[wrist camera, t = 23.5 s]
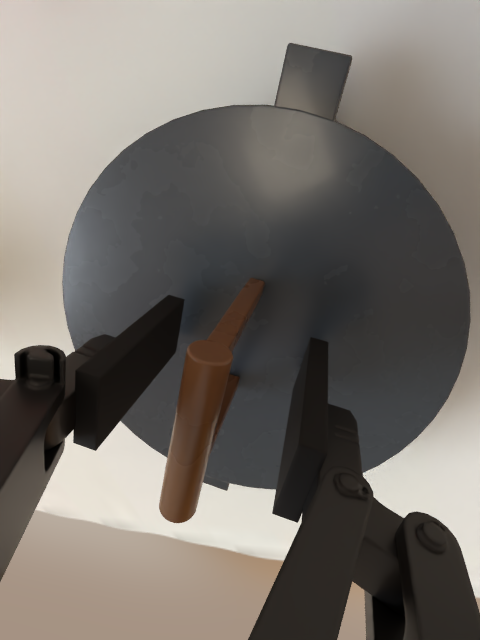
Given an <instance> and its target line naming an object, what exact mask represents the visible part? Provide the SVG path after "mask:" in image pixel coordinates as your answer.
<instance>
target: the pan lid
mask: <svg viewBox="0 0 480 640" xmlns="http://www.w3.org/2000/svg"><path fill="white" fill-rule="evenodd" d="M167 295H172V296H175V297H178V298H182V299H185V301H184V307H183V313H182V319H181V325H180V331H179V337H178V343H177V349H176V353H175V354H174V355H173V357H172V358H171V359H170V360H169V361H168V363H167V364H166V365H165V366H164V368H163V369H162V370H161V371H160V372H159V374H158V375H157V376H156V377H155V379H154V380H153V381H152V382H151V383H150V385H149V386H148V387H147V388H146V390H145V391H144V392H143V393H142V395H141V396H140V397H139V398H138V399H137V401H136V402H135V403H134V404H133V406H132V407H131V408H130V409H129V410H128V412H127V413H126V414H125V415H124V417H123V418H122V419H121V420H120V421H121V422H122V423H123V424H124V425H126V426H127V427H128V428H129V429H130V430H131V431H132V432H133V433H134V434H135V435H136V436H138V437H139V438H140V439H141V440H143V441H144V442H145V443H146V444H148V445H149V446H150V447H152V448H153V449H155V450H156V451H158V452H159V453H161V454H162V455H164V456H166V457H167V463H166V469H165V475H164V480H163V486H162V491H161V497H160V503H159V509H160V512H161V514H162V515H163V517H164V518H165V519H167V520H168V521H170V522H173V523H182V522H185V521H187V520H189V519H190V518H191V517H192V516H193V515H194V513H195V511H196V508H197V504H198V499H199V495H200V491H201V487H202V483H203V479H204V475H205V476H207V477H210V478H214V479H217V480H220V481H224V482H227V483H231V484H237V485H242V486H247V487H254V488H264V489H277V482H278V476H279V470H280V464H281V458H282V452H283V446H284V440H285V434H286V428H287V422H288V416H289V410H290V404H291V397H292V391H293V387H294V384H295V381H296V378H297V376H298V373H299V370H300V367H301V364H302V361H303V358H304V355H305V352H306V349H307V346H308V343H309V340H310V337H313V338H316V339H320V340H323V341H326V342H328V404H331V405H334V406H337V407H341V408H344V409H347V410H350V411H351V413H352V414H353V416H354V418H355V419H356V421H357V426H358V435H359V445H360V454H361V464H362V473H363V472H366V471H368V470H370V469H372V468H374V467H376V466H378V465H380V464H382V463H383V462H385V461H386V460H388V459H389V458H391V457H393V456H394V455H396V454H397V453H399V452H400V451H401V450H402V449H404V448H405V447H406V446H407V445H408V444H410V443H411V442H412V441H413V440H414V439H416V438H417V437H418V436H419V435H420V434H421V432H422V431H423V430H424V429H425V428H426V427H427V426H428V425H429V424H430V423H431V421H432V420H433V419H434V418H435V416H436V415H437V413H438V412H439V410H440V409H441V407H442V406H443V404H444V403H445V402H446V400H447V399H448V397H449V395H450V392H451V390H452V388H453V386H454V384H455V382H456V380H457V378H458V376H459V373H460V369H461V366H462V363H463V359H464V356H465V353H466V349H467V343H468V336H469V328H470V291H469V285H468V280H467V275H466V269H465V264H464V260H463V258H462V255H461V252H460V249H459V246H458V244H457V241H456V238H455V235H454V233H453V231H452V229H451V227H450V225H449V224H448V222H447V220H446V218H445V216H444V214H443V213H442V211H441V209H440V207H439V205H438V204H437V203H436V201H435V200H434V199H433V197H432V196H431V195H430V194H429V192H428V191H427V190H426V188H425V187H424V186H423V184H422V183H421V182H420V181H419V179H418V178H417V177H416V176H415V175H414V174H413V173H412V172H411V171H410V170H408V169H407V168H406V167H405V166H404V165H403V164H402V163H401V162H400V161H399V160H398V159H397V158H396V157H395V156H394V155H392V154H391V153H390V152H388V151H387V150H385V149H384V148H382V147H381V146H379V145H378V144H377V143H375V142H374V141H372V140H371V139H369V138H368V137H366V136H365V135H363V134H361V133H359V132H357V131H355V130H353V129H351V128H349V127H347V126H345V125H342V124H340V123H338V122H336V121H334V120H332V119H328V118H325V117H322V116H319V115H315V114H312V113H309V112H306V111H302V110H298V109H291V108H284V107H278V106H271V105H231V106H225V107H219V108H213V109H207V110H201V111H198V112H195V113H192V114H189V115H186V116H183V117H180V118H177V119H174V120H172V121H170V122H168V123H166V124H164V125H162V126H160V127H158V128H156V129H154V130H152V131H150V132H148V133H146V134H145V135H144V136H142V137H141V138H139V139H138V140H137V141H135V142H134V143H133V144H131V145H130V146H128V147H127V148H126V149H124V150H123V151H122V152H121V153H120V154H119V155H118V156H117V157H116V158H115V159H114V160H113V161H112V162H111V163H110V164H109V165H108V166H107V167H106V168H105V169H104V171H103V172H102V173H101V175H100V176H99V177H98V179H97V180H96V181H95V183H94V184H93V185H92V187H91V188H90V189H89V191H88V193H87V195H86V197H85V199H84V200H83V202H82V204H81V206H80V208H79V210H78V212H77V214H76V217H75V220H74V223H73V225H72V228H71V231H70V234H69V238H68V242H67V247H66V252H65V257H64V268H63V300H64V308H65V314H66V320H67V325H68V329H69V332H70V335H71V339H72V342H73V345H74V348H75V350H76V349H78V348H79V347H80V346H81V347H82V345H83V344H85V343H86V342H87V341H89V340H90V339H91V338H94V337H97V336H100V335H103V334H106V335H110V336H113V337H117V336H118V335H119V334H121V333H122V332H123V331H124V330H126V329H127V328H128V327H129V326H130V325H132V324H133V323H134V322H135V321H137V320H138V319H139V318H140V317H142V316H143V315H144V314H145V313H146V312H148V311H149V310H150V309H151V308H153V307H154V306H155V305H156V304H158V303H159V302H160V301H161V300H162V299H164V298H165V297H166V296H167Z"/></svg>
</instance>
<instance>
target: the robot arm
mask: <svg viewBox="0 0 480 640" xmlns="http://www.w3.org/2000/svg"><path fill="white" fill-rule="evenodd" d="M184 301H185V299H182V298H178V297H175V296H172V295H167V296H166V297H165V298H164V299H162V300H161V301H160V302H159V303H158V304H156V305H155V306H154V307H153V308H151V309H150V310H149V311H148V312H146V313H145V314H144V315H143V316H142V317H140V318H139V319H138V320H137V321H135V322H134V323H133V324H132V325H130V326H129V327H128V328H127V329H126V330H124V331H123V332H122V333H121V334H119V335H118V336H117V337H113V336H110V335H106V334H103V335H100V336H97V337H94V338H91V339H90V340H89V341H87V342H86V343H85V344H83V345H82V347H81V346H80V347H79V348H78V349H76V350H75V352H72V353H71V354H70V355H68V356H67V357H66V356H65V354H64V352H63V351H62V350H60V349H58V348H56V347H52V346H44V345H38V346H31V347H27V348H24V349H21V350H20V351H18V352H17V353H15V354H14V356H15V374H16V379H15V380H4V379H0V581H1V579H2V577H3V575H4V573H5V571H6V569H7V567H8V565H9V562H10V560H11V558H12V556H13V554H14V552H15V550H16V548H17V546H18V544H19V542H20V540H21V538H22V535H23V534H24V531H25V529H26V527H27V525H28V523H29V521H30V519H31V517H32V515H33V513H34V511H35V509H36V507H37V505H38V502H39V500H40V498H41V496H42V494H43V492H44V490H45V488H46V486H47V484H48V482H49V480H50V478H51V476H52V474H53V471H54V469H55V467H56V465H57V463H58V461H59V459H60V457H61V455H62V453H63V450H64V446H65V438H66V437H67V436H68V435H69V434H70V433H71V431H72V430H73V429H74V442H73V443H76V444H78V445H81V446H84V447H87V448H90V449H92V450H95V451H96V450H97V449H98V447H99V446H100V445H101V444H102V442H103V441H104V440H105V439H106V437H107V436H108V435H109V434H110V433H111V431H112V430H113V429H114V428H115V426H116V425H117V424H118V423H119V422H120V420H121V419H122V418H123V417H124V415H125V414H126V413H127V412H128V410H129V409H130V408H131V407H132V406H133V404H134V403H135V402H136V401H137V399H138V398H139V397H140V396H141V395H142V393H143V392H144V391H145V390H146V388H147V387H148V386H149V385H150V383H151V382H152V381H153V380H154V379H155V377H156V376H157V375H158V374H159V372H160V371H161V370H162V369H163V368H164V366H165V365H166V364H167V363H168V361H169V360H170V359H171V358H172V357H173V355H174V354H175V353H176V349H177V343H178V337H179V331H180V325H181V319H182V313H183V307H184ZM272 514H275V515H278V516H280V517H283V518H286V519H289V520H292V521H295V522H297V523H298V521H299V519H300V516H301V514H302V523H301V525H300V528H299V530H298V532H297V534H296V536H295V538H294V541H293V543H292V545H291V547H290V549H289V552H288V554H287V556H286V558H285V560H284V562H283V565H282V567H281V569H280V571H279V573H278V576H277V578H276V580H275V582H274V584H273V586H272V589H271V591H270V593H269V595H268V597H267V599H266V602H265V604H264V606H263V609H262V610H261V613H260V615H259V617H258V619H257V621H256V624H255V626H254V628H253V630H252V632H251V634H250V637H249V639H248V640H337V638H338V634H339V630H340V626H341V622H342V618H343V614H344V611H345V607H346V603H347V599H348V595H349V591H350V587H351V584H352V581H353V582H354V583H356V584H357V585H358V586H360V587H361V588H363V589H364V590H365V614H366V615H365V616H366V640H480V613H479V609H478V606H477V602H476V599H475V596H474V592H473V589H472V585H471V582H470V579H469V575H468V572H467V568H466V565H465V562H464V558H463V555H462V551H461V548H460V546H459V544H458V542H457V540H456V538H455V536H454V535H453V534H452V533H451V531H450V530H449V529H448V528H447V527H446V526H445V525H444V524H442V523H441V522H440V521H439V520H437V519H436V518H434V517H432V516H430V515H428V514H425V513H421V512H412V513H409V514H408V515H407V516H406V517H405V518H402V517H401V516H399V515H398V514H396V513H394V512H393V511H391V510H389V509H388V508H386V507H385V506H384V505H382V504H381V503H379V502H378V501H377V500H376V499H375V498H374V497H373V491H372V489H371V487H370V485H369V483H368V482H367V481H366V480H365V479H364V477H363V474H362V464H361V454H360V445H359V435H358V426H357V421H356V419H355V418H354V416H353V414H352V413H351V411H350V410H347V409H344V408H341V407H337V406H334V405H331V404H328V342H326V341H323V340H320V339H316V338H313V337H310V340H309V343H308V346H307V349H306V352H305V355H304V358H303V361H302V364H301V367H300V370H299V373H298V376H297V378H296V381H295V384H294V387H293V391H292V397H291V404H290V410H289V416H288V422H287V428H286V434H285V440H284V446H283V452H282V458H281V464H280V470H279V476H278V482H277V489H276V495H275V501H274V507H273V513H272Z"/></svg>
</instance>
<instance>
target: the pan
mask: <svg viewBox="0 0 480 640" xmlns="http://www.w3.org/2000/svg"><path fill="white" fill-rule="evenodd" d="M351 62H352V56H351V55H346V54H341V53H337V52H332V51H327V50H322V49H317V48H312V47H308V46H303V45H298V44H293V43H289V44H288V46H287V51H286V55H285V60H284V64H283V69H282V73H281V78H280V82H279V86H278V91H277V95H276V100H275V104H274V106H278V107H284V108H291V109H298V110H302V111H306V112H309V113H312V114H315V115H319V116H322V117H325V118H328V119H332V120H334V121H335V118H336V114H337V111H338V108H339V104H340V101H341V97H342V94H343V90H344V87H345V83H346V80H347V76H348V73H349V70H350V66H351ZM203 482H204V483H206V484H209V485H212V486H215V487H218V488H220V489H223V490H226V491H227V490H228V486H229V483H227V482H224V481H220V480H217V479H214V478H210V477H207V476H205V475H204V479H203Z"/></svg>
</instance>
